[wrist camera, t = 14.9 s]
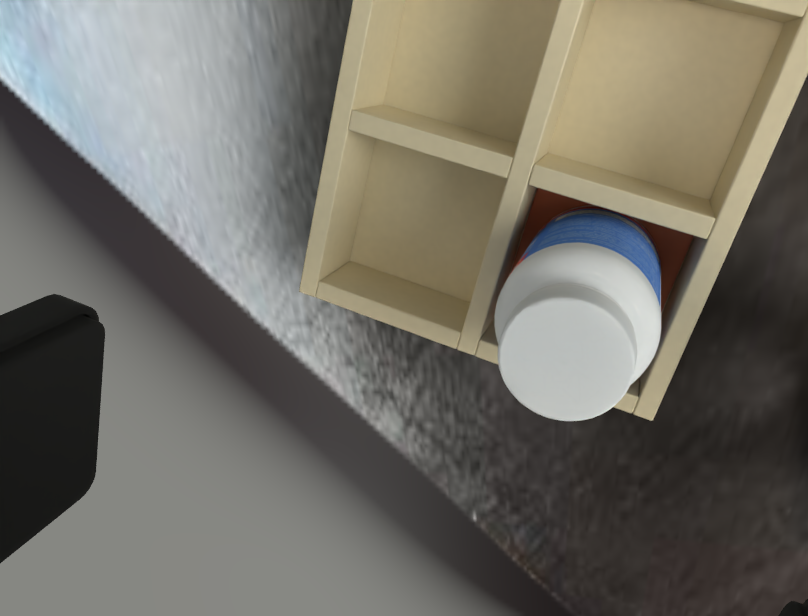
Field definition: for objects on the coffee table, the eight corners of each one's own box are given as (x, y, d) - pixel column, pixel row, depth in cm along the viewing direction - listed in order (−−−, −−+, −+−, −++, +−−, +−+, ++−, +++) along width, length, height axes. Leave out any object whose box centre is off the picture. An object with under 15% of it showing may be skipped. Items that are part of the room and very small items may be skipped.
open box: (337, 266, 34) (298, 291, 30) (410, -87, 28) (372, -110, 24) (653, 378, 31) (652, 422, 27) (815, 5, 24) (843, -5, 21)
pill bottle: (524, 205, 29) (467, 268, 20) (661, 200, 27) (663, 266, 19) (530, 328, 31) (479, 435, 22) (660, 331, 29) (660, 448, 20)
